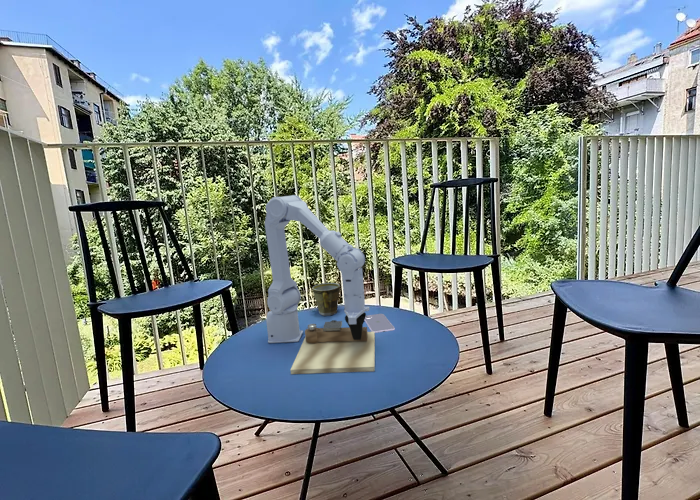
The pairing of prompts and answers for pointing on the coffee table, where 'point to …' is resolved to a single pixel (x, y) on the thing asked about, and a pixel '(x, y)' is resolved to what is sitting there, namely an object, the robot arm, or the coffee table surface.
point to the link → (333, 335)
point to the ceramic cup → (327, 298)
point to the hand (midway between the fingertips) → (357, 339)
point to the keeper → (328, 326)
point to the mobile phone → (378, 323)
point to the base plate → (336, 356)
